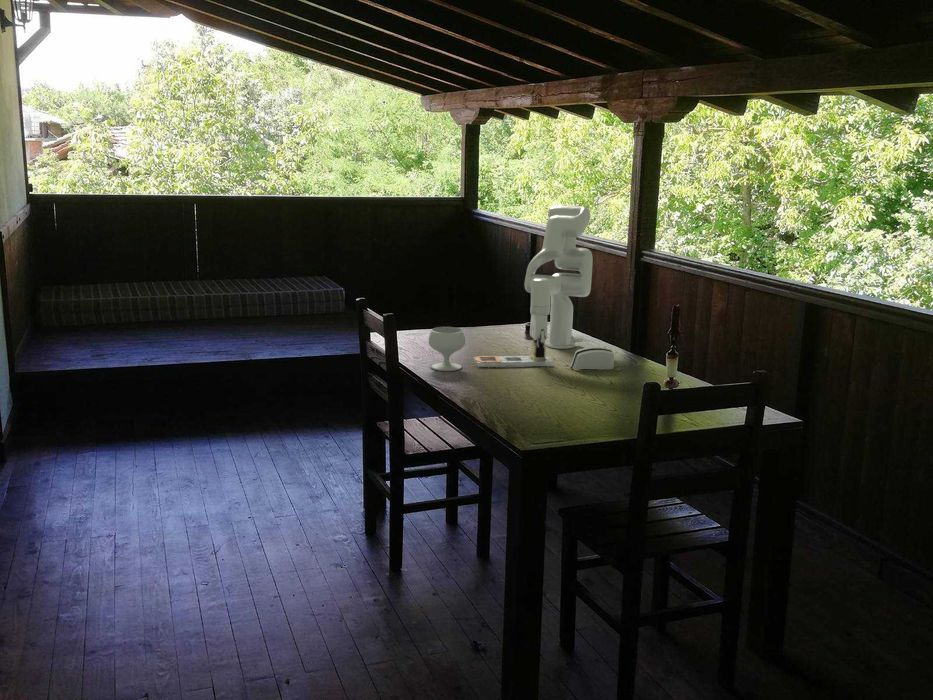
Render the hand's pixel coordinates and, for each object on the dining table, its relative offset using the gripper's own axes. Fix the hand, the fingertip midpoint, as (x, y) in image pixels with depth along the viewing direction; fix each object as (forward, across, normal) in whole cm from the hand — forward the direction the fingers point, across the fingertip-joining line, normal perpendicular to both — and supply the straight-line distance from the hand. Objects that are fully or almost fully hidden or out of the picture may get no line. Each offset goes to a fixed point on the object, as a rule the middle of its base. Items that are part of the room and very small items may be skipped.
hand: (538, 355), depth 346 cm
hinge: (+4, +10, +19) cm, 22 cm away
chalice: (+4, +4, -37) cm, 37 cm away
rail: (+3, 0, -10) cm, 11 cm away
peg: (+3, 0, 0) cm, 3 cm away
